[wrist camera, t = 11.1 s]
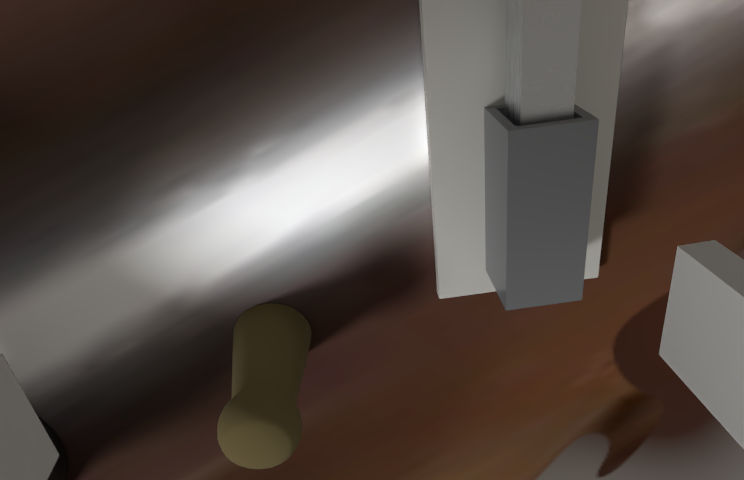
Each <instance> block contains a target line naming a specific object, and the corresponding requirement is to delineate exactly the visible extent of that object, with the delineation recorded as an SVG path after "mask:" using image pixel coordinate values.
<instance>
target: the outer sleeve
mask: <svg viewBox="0 0 744 480" xmlns="http://www.w3.org/2000/svg"><path fill="white" fill-rule="evenodd" d="M598 126H599V119H598V118H596V117H595V116H593V115H592V114H590V113H588V112H587V111H585V110H584V109H582V108H580V107H579V106H577V105H576V104H574V116H573V119H569V120H561V121H554V122H546V123H538V124H531V125H523V126H515V125H513V124H512V123H511V122H510V121H509V120H508V119H507V118H506V117H505V105H497V106H490V107H484V150H485V253H486V272H487V274H488V276H489V278H490V280H491V282H492V284H493V286H494V288H495V290H496V292H497V294H498V296H499V298H500V300H501V302H502V304H503V306H504V307H505V309H506V310H512V309H519V308H527V307H534V306H541V305H549V304H556V303H563V302H570V301H578V300H582V294H583V284H584V273H585V263H586V252H587V241H588V231H589V220H590V210H591V199H592V189H593V178H594V168H595V157H596V147H597V136H598Z"/></svg>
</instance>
